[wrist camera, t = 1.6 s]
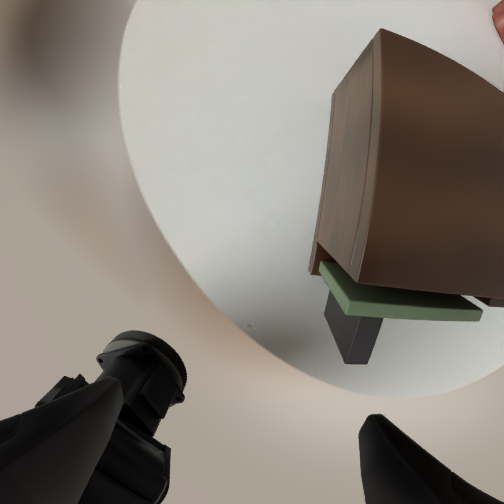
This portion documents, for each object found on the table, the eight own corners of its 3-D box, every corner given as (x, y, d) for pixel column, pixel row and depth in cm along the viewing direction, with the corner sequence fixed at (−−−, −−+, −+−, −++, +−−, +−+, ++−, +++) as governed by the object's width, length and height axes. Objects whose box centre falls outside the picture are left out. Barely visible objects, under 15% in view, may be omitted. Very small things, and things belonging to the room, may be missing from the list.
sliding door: (417, 317, 17) (462, 362, 11) (310, 308, 17) (329, 366, 11) (430, 275, 17) (484, 310, 10) (320, 260, 17) (348, 299, 10)
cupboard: (486, 292, 18) (548, 332, 9) (307, 270, 18) (340, 339, 9) (507, 163, 15) (577, 165, 6) (332, 93, 15) (380, 26, 7)
